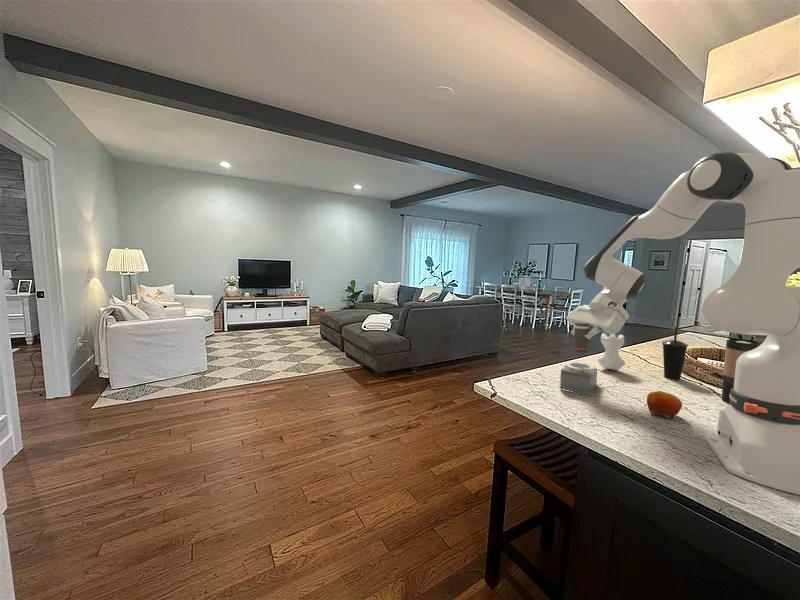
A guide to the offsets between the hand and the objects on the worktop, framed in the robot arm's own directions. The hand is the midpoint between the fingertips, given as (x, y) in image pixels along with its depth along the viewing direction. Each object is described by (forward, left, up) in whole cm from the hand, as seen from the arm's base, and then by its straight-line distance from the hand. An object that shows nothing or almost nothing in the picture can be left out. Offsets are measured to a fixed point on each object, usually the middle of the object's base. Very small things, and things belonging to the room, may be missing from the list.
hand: (579, 336), depth 116 cm
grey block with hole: (0, 0, -19) cm, 19 cm away
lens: (+1, 0, -5) cm, 5 cm away
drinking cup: (+33, -26, -19) cm, 47 cm away
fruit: (-9, -24, -19) cm, 32 cm away
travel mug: (+16, -42, -19) cm, 49 cm away
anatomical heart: (+31, -6, -19) cm, 37 cm away
